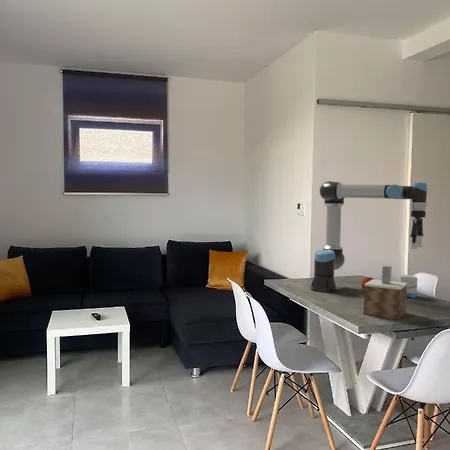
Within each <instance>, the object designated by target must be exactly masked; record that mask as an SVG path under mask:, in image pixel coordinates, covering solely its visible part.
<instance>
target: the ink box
mask: <svg viewBox="0 0 450 450" xmlns="http://www.w3.org/2000/svg"><path fill="white" fill-rule="evenodd" d="M398 279H399V280H398V282H403V283H407V297H412V298H411V299H417V297H418V296H417V293H418V277H417V276H415V275H411V274H399V278H398ZM407 297H406V298H407Z"/></svg>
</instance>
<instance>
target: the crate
mask: <svg viewBox="0 0 450 450" xmlns="http://www.w3.org/2000/svg"><path fill="white" fill-rule="evenodd" d="M363 293H364V297H363V315H367V316H374V317H379V318H380V317H381V318H387V319H393V320H400V319H401V318H403V316H404V315H405V314H406V312H407V285H406V286H405V287H404V288H402V289H401V290H397V289H388V288H380V287H372V286H365V292H364V291H363Z"/></svg>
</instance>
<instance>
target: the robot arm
mask: <svg viewBox="0 0 450 450" xmlns="http://www.w3.org/2000/svg"><path fill="white" fill-rule="evenodd" d="M427 188H428V184H427V183H426V182H418V181H417V182H413V183H412V185H399V184H346V183H345V184H343V183H341V182H338V181H331V180H329V181H325V182H323V183H322V185H321V186H320V187H319V194H320V197H321V198H322V199H323V200H324V205H325V206H326V223H325V224H326V226H325V227H326V229H325V232H326V233H325V246H323V249H319V250H316V251H315V253H314V267H313V269H314V272H313V278H312V281H311V284H310V290H312V291H315V292H322V293H334V292H337V283H336V280H335V271H337V270H339V269H341V268H342V266H343V265H344V263H345V255H344V254H343V249H344V248H343V247H342V246H341V229H342V228H341V225H342V224H341V223H342V206H343V205H344V204H345V203H344V202H345V198H348V199H349V198H352V199H391V200H392V199H393V200H411V211H410V217H411V218H413V219H412V227H411V234H410V235H409V238H411V243H410V249H412V250H417V248H422V245H423V237H424V236H425V235H424V228H423V227H424V225H423V221H424V219H423V218H426V215H427V212H426V209H427V207H428V204H427V196H428V189H427Z"/></svg>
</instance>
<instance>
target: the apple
mask: <svg viewBox="0 0 450 450" xmlns="http://www.w3.org/2000/svg"><path fill="white" fill-rule="evenodd" d="M373 279H375V278H374V277H365V278H363V280H362V281H361V283H360V284H361V289H362V291H363V293H364V292H365V283H367V282H369V281H371V280H373Z"/></svg>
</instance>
